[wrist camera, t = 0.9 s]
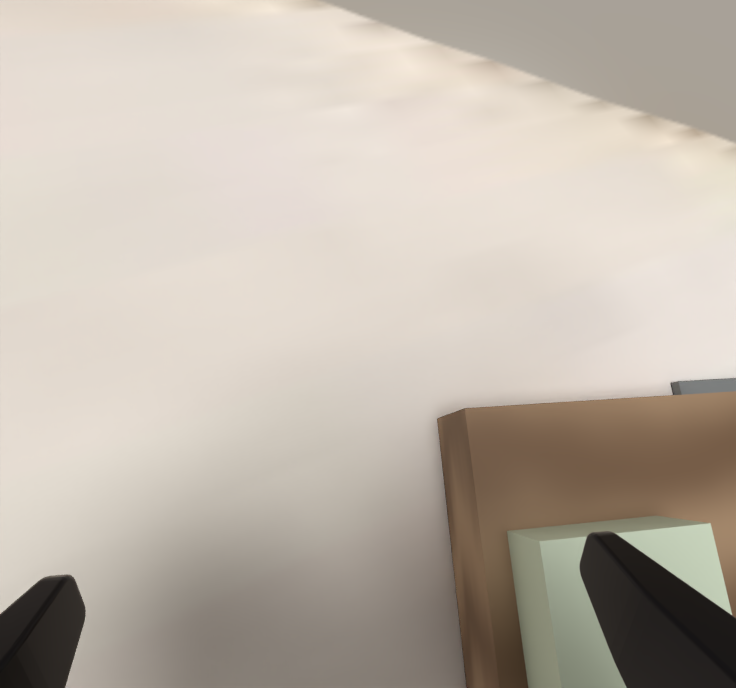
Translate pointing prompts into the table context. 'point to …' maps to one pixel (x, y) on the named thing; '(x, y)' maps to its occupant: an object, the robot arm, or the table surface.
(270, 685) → the table surface
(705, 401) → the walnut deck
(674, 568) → the sage tile
